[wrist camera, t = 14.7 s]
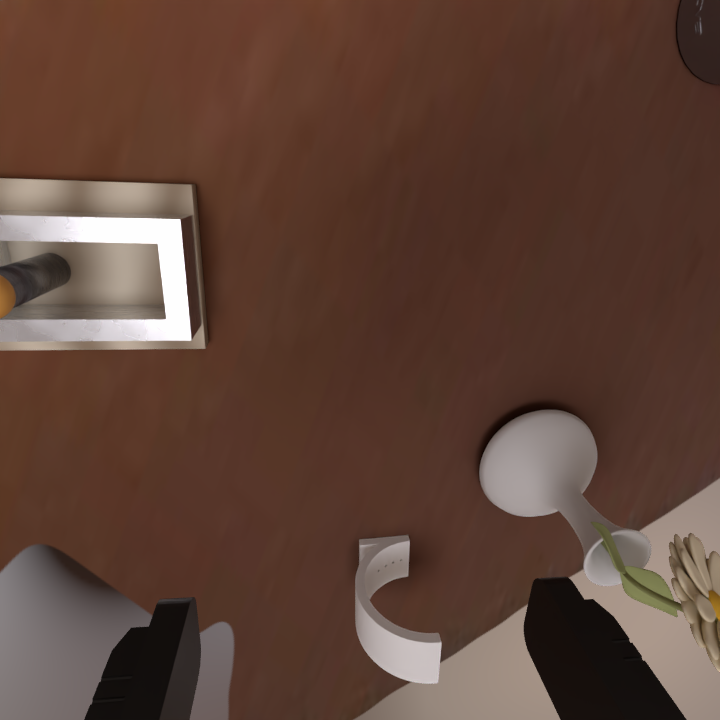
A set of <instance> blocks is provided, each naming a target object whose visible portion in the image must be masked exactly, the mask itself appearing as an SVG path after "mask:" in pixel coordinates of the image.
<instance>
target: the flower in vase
mask: <svg viewBox="0 0 720 720" xmlns="http://www.w3.org/2000/svg"><path fill="white" fill-rule="evenodd" d="M596 464H597V447H596V443H595V440H594V437H593V435H592V433H591V431H590V429H589V428H588V426H587V425H586V424H585V423H584V422H583V421H582V420H581V419H579V418H578V417H577V416H575V415H573V414H571V413H568V412H565V411H560V410H539V411H534V412H530V413H527V414H523V415H521V416H519V417H517V418H515V419H513V420H511V421H510V422H508V423H507V424H506V425H504V426H503V427H502V428H501V429H500V430H499V431H497V433H496V434H495V435H494V436H493V437H492V439H491V440H490V442H489V443H488V445H487V447H486V449H485V451H484V453H483V456H482V459H481V463H480V469H479V477H480V483H481V487H482V489H483V491H484V493H485V495H486V496H487V498H488V499H489V500H490V501H491V502H492V503H493V504H495V505H496V506H497V507H499V508H501V509H503V510H504V511H506V512H508V513H511V514H514V515H518V516H524V517H533V516H542V515H547V514H551V513H554V512H557V511H559V512H561V514H562V515H563V516H564V517H565V518H566V519H567V521H568V522H569V523H570V525H571V526H572V528H573V529H574V531H575V533H576V534H577V536H578V538H579V540H580V542H581V544H582V546H583V550H584V564H583V567H584V572H585V575H586V576H587V578H588V579H589V580H590V581H591V582H593V583H595V584H597V585H601V586H613V585H618V584H621V583H622V585H623V588H624V591H625V592H626V594H627V595H628V596H630V597H631V598H633V599H635V600H637V601H639V602H642V603H644V604H647V605H649V606H652V607H654V608H657V609H659V610H662V611H664V612H666V613H668V614H671V615H673V616H675V617H677V610H680V611H682V612H683V613H684V615H685V618H686V620H687V621H688V622H689V624H690V628H691V631H692V634H693V636H694V638H695V640H696V642H697V644H698V645H699V646H700V647H701V648H706V650H707V654H708V656H709V658H710V660H711V662H712V663H713V665H714V667H715V668H716V669H717V670H718V672H720V556H719V554H718V553H717V552H715V551H712V552H711V553H710V556H709V559H706V555H705V550H704V547H703V544H702V542H701V541H700V539H699V538H697V537H695V536H694V534H692V533H690V534H689V537H688V538H687V537H685V538H684V539H683V542H682V540H681V539H680V537H679V536H678V535H677V534H675V535H674V544H675V545H674V544H673V543H672V542H670V543H669V549H670V553H671V556H670V557H669V562H670V566H671V569H672V572H673V574H674V576H675V578H672V579H671V582H672V586H673V589H674V591H675V593H676V595H677V597H678V599H679V600H680V601H681V604H680V603H678V602H675V601H674V599H673V597H672V594H671V591H670V589H669V587H668V585H667V584H666V582H665V581H664V579H663V578H662V577H661V576H660V575H658V574H657V573H655V572H653V571H649V570H645V569H643V568H644V567H645V565H646V564H647V562H648V560H649V558H650V555H651V544H650V541H649V540H648V538H647V537H646V536H645V535H644V534H643V533H641V532H639V531H636V530H632V529H624V528H621V527H618V526H616V525H614V524H613V523H611V522H610V521H608V520H607V519H605V518H604V517H603V516H602V515H601V514H600V513H598V512H597V511H596V510H595V509H594V508H593V507H592V506H591V505H590V504H589V503H588V501H587V500H586V499H585V498H584V496H583V495H582V493H583V492H584V491H585V489H586V488H587V486H588V485H589V483H590V481H591V479H592V476H593V474H594V471H595V468H596ZM676 609H677V610H676Z"/></svg>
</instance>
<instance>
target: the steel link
mask: <svg viewBox="0 0 720 720" xmlns="http://www.w3.org/2000/svg"><path fill="white" fill-rule="evenodd" d="M7 241H49V242H104V243H158V249H159V258H160V267H161V276H162V285H163V294H164V303H165V305H67V304H22V305H19V306H17V307H15V308H13V309H12V310H11V311H10V312H9V313H8V314H7V315H6V316H4V317H2V318H0V342H43V341H192V339H193V337H194V336H195V334H196V333H197V331H198V330H199V328H200V326H201V325H202V317H201V305H200V293H199V282H198V270H197V258H196V247H195V235H194V223H193V215H177V214H138V213H99V212H59V211H20V210H0V267H1V266H4V265H8V264H11V263H12V262H11V257H10V253H9V248H8V244H7Z"/></svg>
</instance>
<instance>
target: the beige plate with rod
mask: <svg viewBox="0 0 720 720" xmlns="http://www.w3.org/2000/svg"><path fill="white" fill-rule="evenodd" d="M0 210H20V211H59V212H99V213H138V214H177V215H193V223H194V235H195V247H196V258H197V270H198V282H199V293H200V305H201V317H202V325H201V326H200V328H199V330H198V331H197V333H196V334H195V336H194V337H193V339H192V341H43V342H0V350H108V349H205V348H206V346H207V344H208V343H209V342H208V330H207V317H206V305H205V293H204V281H203V268H202V256H201V244H200V231H199V219H198V207H197V194H196V184H167V183H137V182H107V181H78V180H48V179H19V178H0ZM7 244H8V248H9V253H10V257H11V262H12V263H11V264H8V265H4V266H1V267H0V318H2V317H4V316H6V315H7V314H8V313H9V312H10V311H11V310H12V309H13V308H15V307H17V306H19V305H22V304H67V305H165V303H164V294H163V285H162V276H161V267H160V258H159V249H158V243H104V242H49V241H7Z"/></svg>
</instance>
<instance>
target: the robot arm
mask: <svg viewBox="0 0 720 720" xmlns="http://www.w3.org/2000/svg"><path fill="white" fill-rule="evenodd" d="M677 37H678V43H679V48H680V52H681V55H682V57H683V59H684V61H685V63H686V65H687V66H688V68H689V69H690V70H691V71H692V73H693V74H695V75H696V76H697V77H699V78H700V79H701V80H703V81H706V82H709V83H712V84H720V0H682V1H681V4H680V7H679V14H678V21H677ZM524 637H525V642H526V646H527V649H528V651H529V654H530V656H531V658H532V660H533V662H534V664H535V667H536V669H537V671H538V673H539V675H540V677H541V679H542V681H543V683H544V686H545V688H546V690H547V692H548V694H549V696H550V698H551V700H552V702H553V704H554V707H555V709H556V711H557V713H558V715H559V717H560V719H561V720H686V718H685V717H684V715H683V714H682V713H681V711H680V710H679V708H678V707H677V705H676V704H675V703H674V701H673V700H672V698H671V697H670V696H669V694H668V693H667V691H666V690H665V688H664V687H663V686H662V684H661V683H660V681H659V680H658V679H657V677H656V676H655V674H654V673H653V671H652V670H651V669H650V667H649V666H648V664H647V663H646V662H645V661H643V660H642V656H641V654H640V653H639V652H638V650H637V649H636V647H635V646H634V645H633V643H630V641H629V638H628V636H627V635H626V633H625V632H624V631H623V629H622V628H621V626H620V625H619V623H618V622H617V621H616V619H615V618H614V617H613V616H612V615H611V614H610V613H609V612H608V611H606V610H605V609H604V608H603V607H602V606H600V605H599V604H598V603H597V602H596V601H595V600H593V599H589V600H584V598H583V597H582V595H581V594H580V592H579V591H578V589H577V588H576V586H575V585H574V583H573V582H572V581H571V580H570V579H569V578H568V577H552V578H537V579H535V580H534V582H533V584H532V589H531V593H530V598H529V602H528V607H527V612H526V616H525V621H524ZM200 658H201V644H200V634H199V625H198V615H197V606H196V600H195V598H194V597H190V598H173V599H160V600H159V601H158V603H157V605H156V608H155V611H154V614H153V617H152V619H151V622H150V625H149V627H136V628H131V629H130V630H129V631H128V632H127V633H126V635H125V636H124V637H123V638H122V639H121V641H120V642H119V643H118V644H117V645H116V647H115V648H114V649H113V650H112V652H111V654H110V657H109V659H108V662H107V664H106V667H105V669H104V672H103V675H102V679H101V682H99V684H98V687H97V689H96V692H95V694H94V697H93V702H92V705H90V707H89V709H88V712H87V714H86V717H85V719H84V720H189V719H190V714H191V709H192V704H193V700H194V695H195V690H196V685H197V681H198V675H199V668H200Z"/></svg>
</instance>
